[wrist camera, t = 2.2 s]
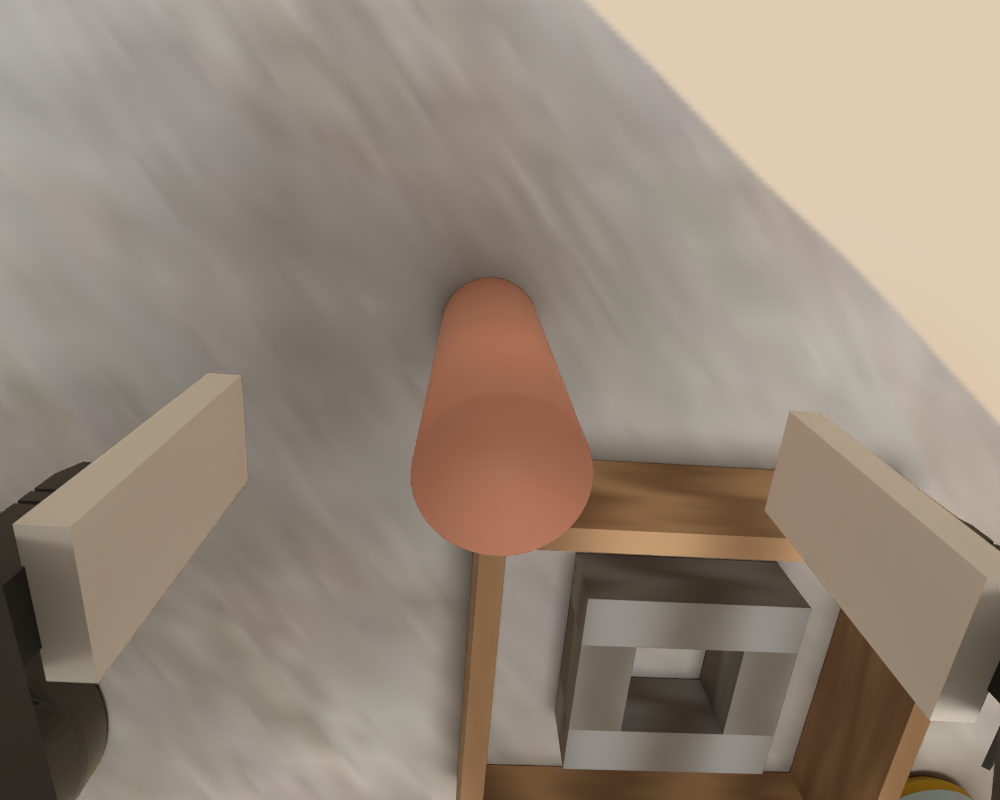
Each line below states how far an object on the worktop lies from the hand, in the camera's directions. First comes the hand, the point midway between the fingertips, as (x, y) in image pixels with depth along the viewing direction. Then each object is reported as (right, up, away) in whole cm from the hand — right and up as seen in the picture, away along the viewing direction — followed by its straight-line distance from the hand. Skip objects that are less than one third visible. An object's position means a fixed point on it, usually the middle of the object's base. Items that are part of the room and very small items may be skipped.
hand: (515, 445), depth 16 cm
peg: (-1, +4, +12) cm, 13 cm away
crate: (+8, -11, +18) cm, 23 cm away
